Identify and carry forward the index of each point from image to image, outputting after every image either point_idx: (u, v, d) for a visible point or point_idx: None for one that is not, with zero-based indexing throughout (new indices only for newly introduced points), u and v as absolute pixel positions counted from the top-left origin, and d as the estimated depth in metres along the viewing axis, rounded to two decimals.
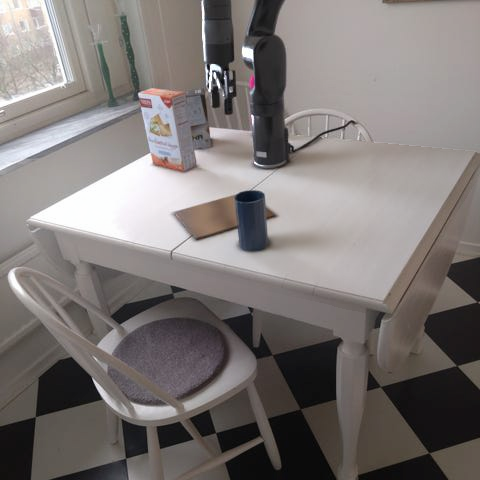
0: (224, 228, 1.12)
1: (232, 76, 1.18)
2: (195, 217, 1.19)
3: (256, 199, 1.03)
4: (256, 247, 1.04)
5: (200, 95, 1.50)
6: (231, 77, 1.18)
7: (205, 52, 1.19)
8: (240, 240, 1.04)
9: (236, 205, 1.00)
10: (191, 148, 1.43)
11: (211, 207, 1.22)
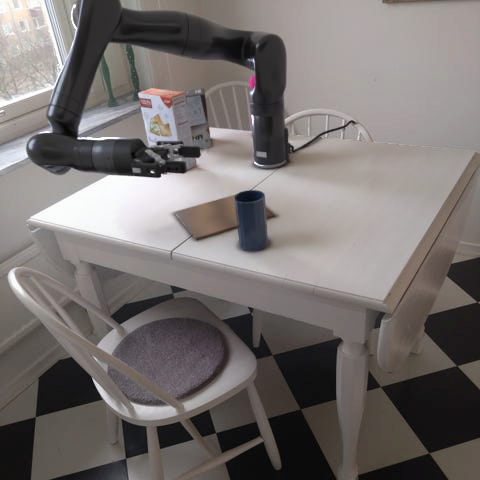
0: (224, 228, 1.12)
1: (136, 168, 0.95)
2: (195, 217, 1.19)
3: (256, 199, 1.03)
4: (256, 247, 1.04)
5: (200, 95, 1.50)
6: (137, 170, 0.95)
7: None
8: (240, 240, 1.04)
9: (236, 205, 1.00)
10: None
11: (211, 207, 1.22)
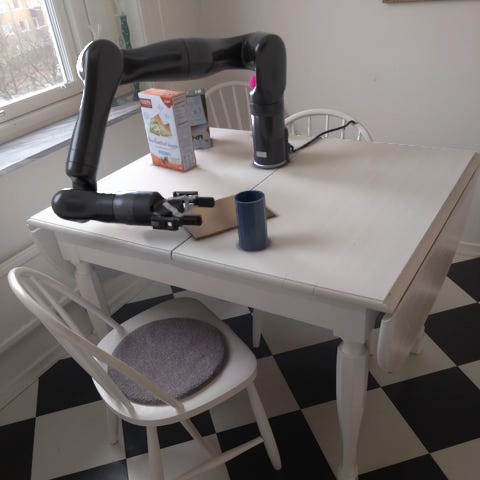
0: (224, 228, 1.12)
1: (155, 222, 1.02)
2: None
3: (256, 199, 1.03)
4: (256, 247, 1.04)
5: (200, 95, 1.50)
6: (156, 223, 1.02)
7: None
8: (240, 240, 1.04)
9: (236, 205, 1.00)
10: (191, 148, 1.43)
11: None
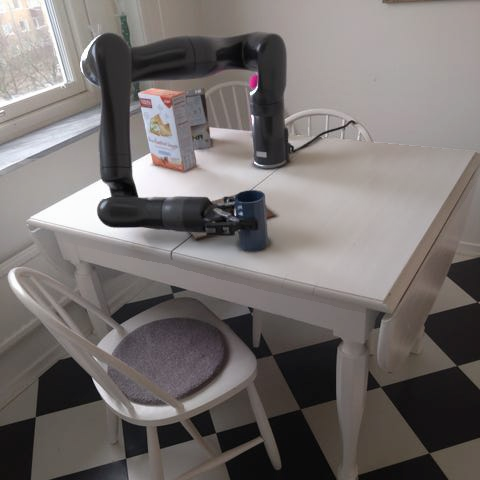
0: None
1: (211, 228, 0.99)
2: None
3: (256, 199, 1.03)
4: (256, 247, 1.04)
5: (200, 95, 1.50)
6: (212, 230, 0.99)
7: None
8: (240, 240, 1.04)
9: (236, 205, 1.00)
10: (191, 148, 1.43)
11: None
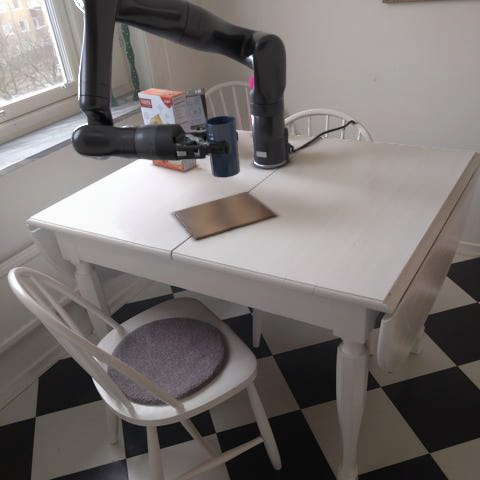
0: (224, 228, 1.12)
1: (182, 151, 1.00)
2: (195, 217, 1.19)
3: None
4: (228, 173, 1.05)
5: (200, 95, 1.50)
6: (183, 153, 1.01)
7: None
8: (212, 167, 1.06)
9: (207, 129, 1.01)
10: None
11: (211, 207, 1.22)
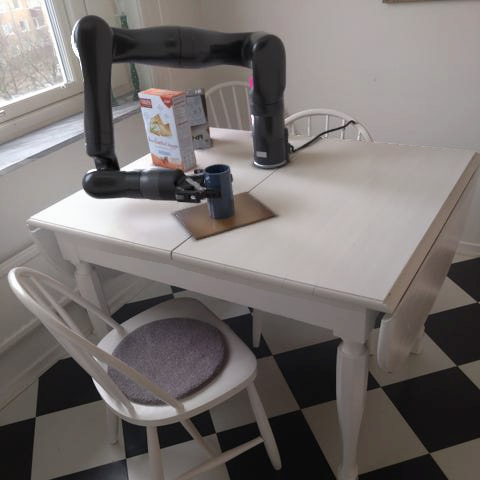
0: (224, 228, 1.12)
1: (179, 195, 1.11)
2: (195, 217, 1.19)
3: (223, 172, 1.15)
4: (223, 215, 1.16)
5: (200, 95, 1.50)
6: (180, 197, 1.11)
7: None
8: (209, 209, 1.17)
9: (204, 177, 1.12)
10: (191, 148, 1.43)
11: None
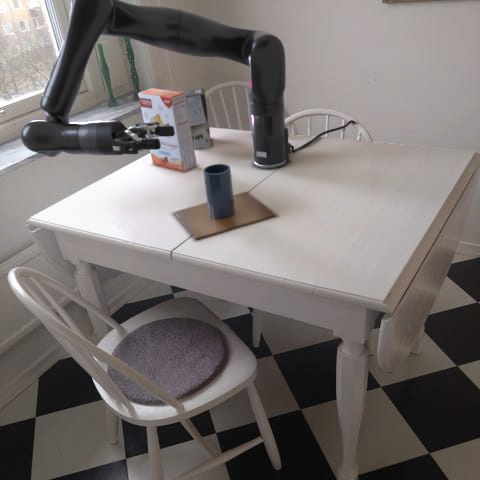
0: (224, 228, 1.12)
1: (116, 146, 1.08)
2: (195, 217, 1.19)
3: (223, 172, 1.15)
4: (223, 215, 1.16)
5: (200, 95, 1.50)
6: (117, 148, 1.08)
7: None
8: (209, 209, 1.17)
9: (204, 177, 1.12)
10: (191, 148, 1.43)
11: None
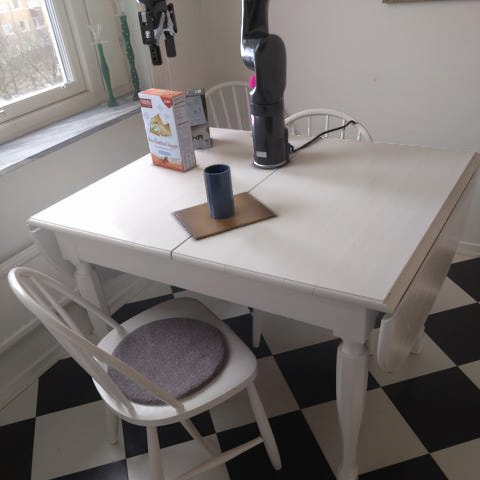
0: (224, 228, 1.12)
1: (145, 18, 1.00)
2: (195, 217, 1.19)
3: (223, 172, 1.15)
4: (223, 215, 1.16)
5: (200, 95, 1.50)
6: (144, 19, 1.01)
7: None
8: (209, 209, 1.17)
9: (204, 177, 1.12)
10: (191, 148, 1.43)
11: None
